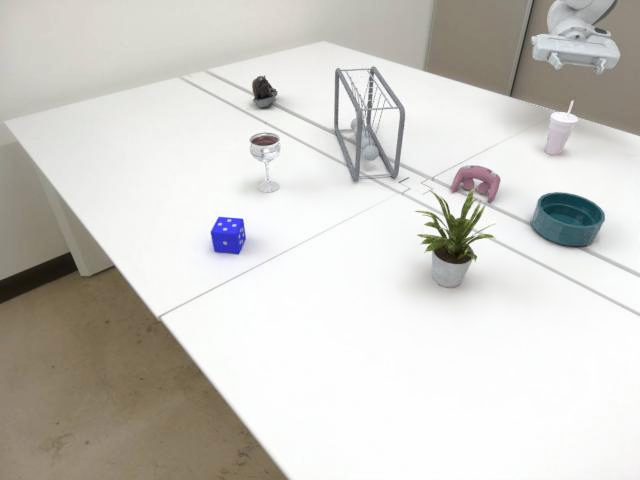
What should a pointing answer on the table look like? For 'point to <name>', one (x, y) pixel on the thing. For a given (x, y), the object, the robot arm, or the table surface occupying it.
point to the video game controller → (480, 173)
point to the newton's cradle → (358, 125)
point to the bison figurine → (263, 92)
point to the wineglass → (266, 155)
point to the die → (228, 235)
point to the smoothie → (560, 130)
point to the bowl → (567, 218)
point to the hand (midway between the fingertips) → (579, 69)
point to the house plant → (453, 243)
